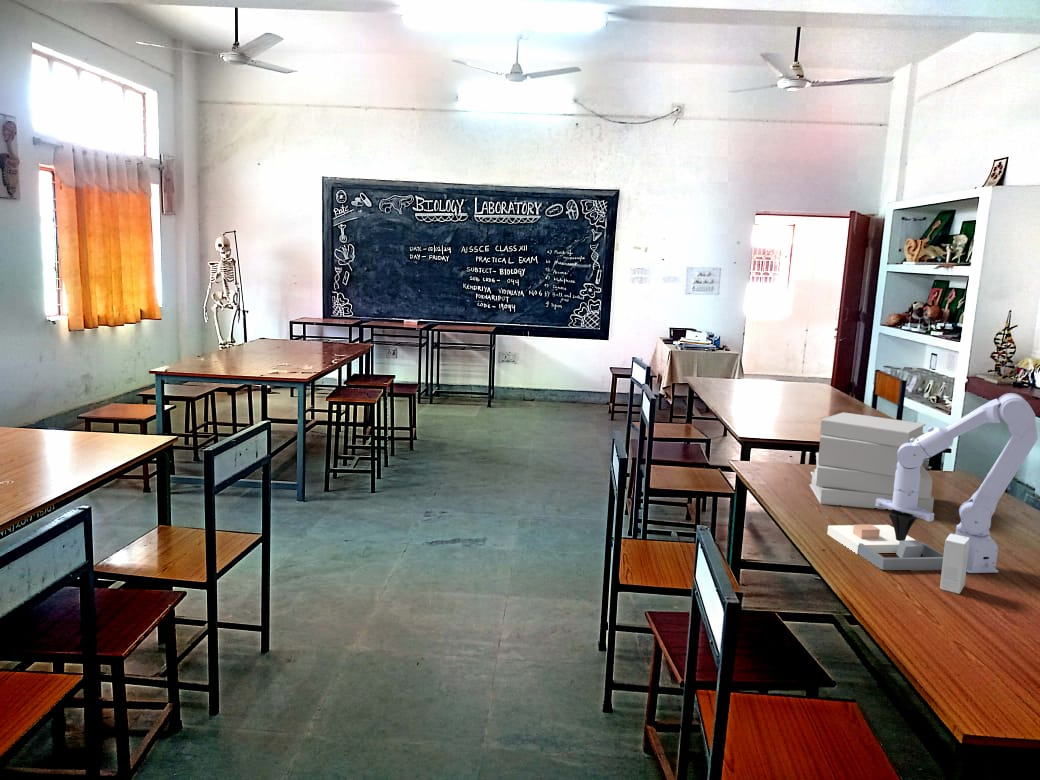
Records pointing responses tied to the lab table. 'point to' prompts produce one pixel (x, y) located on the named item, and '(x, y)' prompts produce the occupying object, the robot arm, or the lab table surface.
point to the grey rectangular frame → (904, 559)
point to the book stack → (863, 461)
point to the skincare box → (954, 563)
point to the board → (851, 541)
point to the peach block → (866, 531)
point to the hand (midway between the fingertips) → (900, 540)
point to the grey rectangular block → (909, 549)
